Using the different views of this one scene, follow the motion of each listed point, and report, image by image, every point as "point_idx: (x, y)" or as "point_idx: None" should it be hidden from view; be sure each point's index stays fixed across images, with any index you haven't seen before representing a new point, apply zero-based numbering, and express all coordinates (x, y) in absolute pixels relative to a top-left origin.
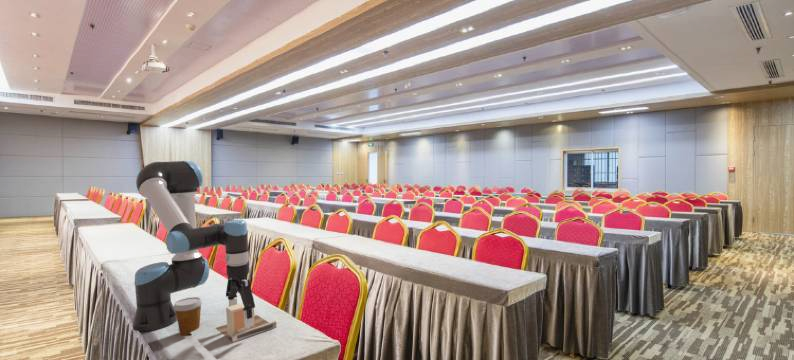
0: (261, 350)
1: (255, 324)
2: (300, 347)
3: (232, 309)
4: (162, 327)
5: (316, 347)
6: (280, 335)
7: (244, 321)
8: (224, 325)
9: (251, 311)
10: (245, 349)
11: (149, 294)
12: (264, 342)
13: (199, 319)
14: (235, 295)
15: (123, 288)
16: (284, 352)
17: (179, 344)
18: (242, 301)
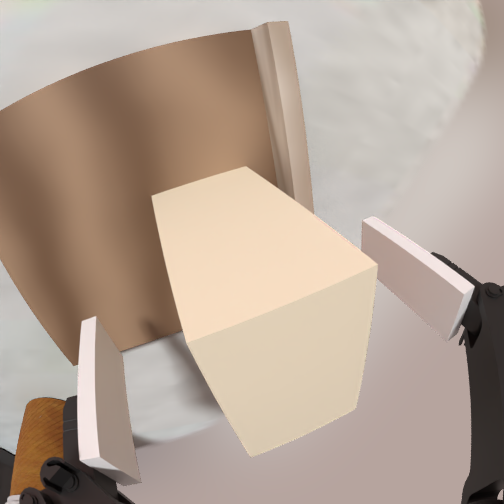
0: (401, 169)
1: (119, 151)
2: (454, 49)
3: (336, 412)
4: (14, 456)
5: (470, 19)
6: (329, 41)
7: (391, 286)
8: (54, 333)
9: (470, 278)
10: (355, 225)
11: None
12: (351, 136)
13: (52, 439)
14: (115, 499)
15: None
16: (452, 106)
17: (153, 425)
18: (471, 391)
